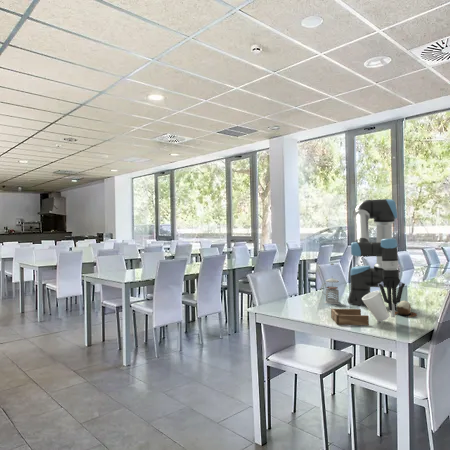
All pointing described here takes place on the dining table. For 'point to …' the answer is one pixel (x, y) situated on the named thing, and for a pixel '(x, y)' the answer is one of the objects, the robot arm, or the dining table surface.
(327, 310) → the dining table surface
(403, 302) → the white and brown lump
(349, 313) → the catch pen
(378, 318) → the foam cup
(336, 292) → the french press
